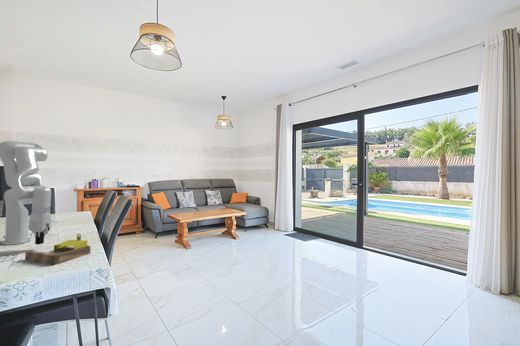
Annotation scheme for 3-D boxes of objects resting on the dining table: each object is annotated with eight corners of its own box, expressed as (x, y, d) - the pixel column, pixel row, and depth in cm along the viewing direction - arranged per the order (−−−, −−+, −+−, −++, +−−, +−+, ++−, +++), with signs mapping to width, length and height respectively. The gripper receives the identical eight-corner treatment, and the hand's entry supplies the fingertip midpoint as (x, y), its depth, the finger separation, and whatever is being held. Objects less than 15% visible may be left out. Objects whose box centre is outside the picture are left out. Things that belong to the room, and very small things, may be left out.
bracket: (42, 240, 127) (65, 233, 142) (42, 255, 126) (64, 246, 141) (73, 241, 127) (92, 234, 142) (72, 256, 127) (92, 247, 142)
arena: (25, 260, 118) (25, 251, 118) (63, 249, 135) (63, 242, 135) (54, 264, 113) (54, 256, 113) (90, 253, 130) (90, 245, 130)
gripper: (23, 209, 133) (21, 243, 133) (43, 212, 129) (41, 247, 129) (39, 207, 140) (37, 240, 141) (58, 210, 136) (56, 243, 136)
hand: (39, 243), depth 135 cm, fingers closed
